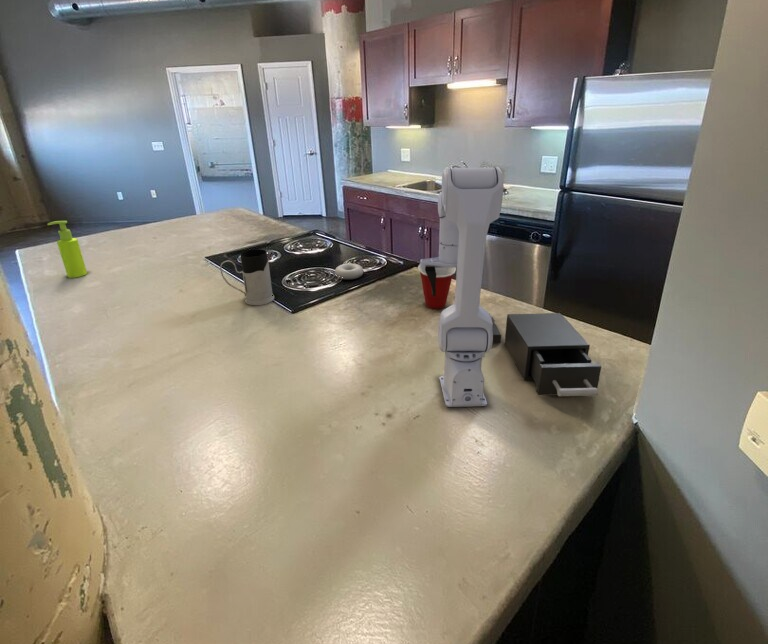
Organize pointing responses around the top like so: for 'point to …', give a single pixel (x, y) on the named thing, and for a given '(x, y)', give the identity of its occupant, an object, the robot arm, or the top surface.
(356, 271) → the donut
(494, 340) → the control block
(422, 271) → the plastic cup
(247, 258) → the silver mug
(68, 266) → the soap dispenser
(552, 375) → the drawer
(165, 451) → the top surface
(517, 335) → the grey drawer box
